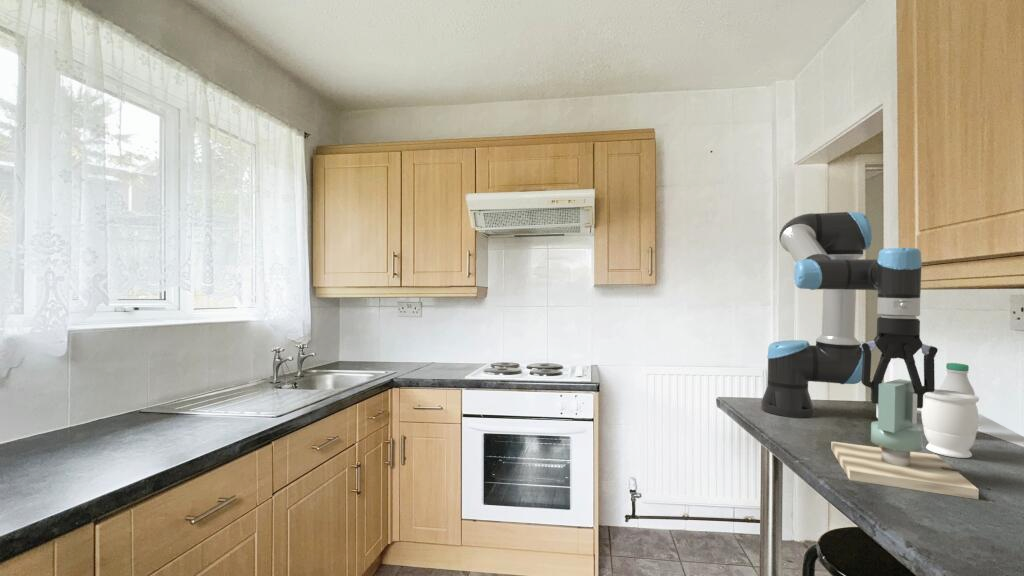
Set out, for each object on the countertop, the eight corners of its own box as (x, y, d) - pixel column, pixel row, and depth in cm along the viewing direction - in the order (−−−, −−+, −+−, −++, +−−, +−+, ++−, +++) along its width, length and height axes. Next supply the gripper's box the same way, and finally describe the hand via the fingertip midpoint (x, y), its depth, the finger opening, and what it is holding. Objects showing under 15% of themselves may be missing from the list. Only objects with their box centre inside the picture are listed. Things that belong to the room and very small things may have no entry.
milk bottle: (950, 438, 132) (951, 365, 132) (930, 429, 139) (932, 361, 139) (982, 439, 130) (984, 366, 130) (961, 431, 138) (962, 362, 138)
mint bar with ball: (861, 443, 108) (863, 381, 108) (885, 433, 115) (886, 376, 115) (911, 455, 101) (912, 389, 101) (933, 444, 108) (934, 382, 108)
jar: (970, 450, 122) (971, 392, 122) (984, 463, 113) (985, 400, 113) (916, 443, 127) (917, 386, 127) (925, 454, 118) (927, 394, 118)
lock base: (830, 448, 122) (831, 426, 122) (939, 462, 113) (939, 438, 113) (849, 479, 103) (850, 453, 102) (983, 500, 94) (983, 471, 93)
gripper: (851, 316, 108) (849, 418, 108) (957, 320, 100) (955, 430, 100) (846, 314, 115) (844, 410, 115) (945, 317, 106) (943, 421, 107)
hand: (895, 419), depth 107 cm, fingers open, 5 cm apart
